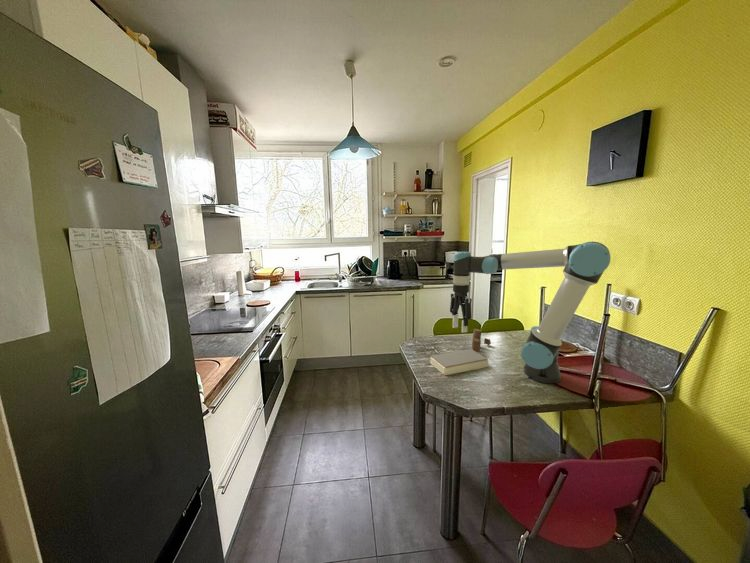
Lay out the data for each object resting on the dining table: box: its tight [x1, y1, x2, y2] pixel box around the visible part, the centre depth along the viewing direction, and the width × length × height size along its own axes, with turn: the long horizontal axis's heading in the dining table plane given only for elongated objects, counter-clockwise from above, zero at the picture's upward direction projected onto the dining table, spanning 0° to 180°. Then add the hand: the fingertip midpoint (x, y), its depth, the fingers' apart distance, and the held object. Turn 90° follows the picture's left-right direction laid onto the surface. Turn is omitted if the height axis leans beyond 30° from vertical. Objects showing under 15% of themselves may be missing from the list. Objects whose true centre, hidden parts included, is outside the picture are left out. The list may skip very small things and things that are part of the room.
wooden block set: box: [471, 328, 492, 353], centre depth 166 cm, size 18×9×10 cm, turn 143°
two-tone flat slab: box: [429, 348, 489, 376], centre depth 147 cm, size 14×25×4 cm, turn 109°
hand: (459, 329), depth 145 cm, fingers open, 7 cm apart
